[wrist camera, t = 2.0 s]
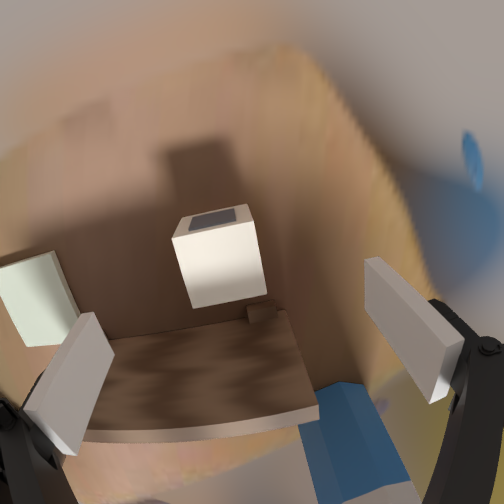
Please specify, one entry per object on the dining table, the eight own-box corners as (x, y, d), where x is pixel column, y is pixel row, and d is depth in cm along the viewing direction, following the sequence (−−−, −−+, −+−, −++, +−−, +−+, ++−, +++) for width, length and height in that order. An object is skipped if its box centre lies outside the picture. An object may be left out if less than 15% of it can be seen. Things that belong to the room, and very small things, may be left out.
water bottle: (298, 387, 30) (362, 607, 7) (376, 374, 31) (471, 555, 7) (291, 434, 33) (333, 607, 10) (359, 422, 34) (422, 575, 11)
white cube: (197, 276, 24) (193, 308, 20) (181, 215, 22) (171, 236, 18) (258, 263, 24) (267, 293, 20) (246, 201, 23) (253, 218, 18)
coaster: (30, 342, 25) (27, 346, 25) (-6, 268, 22) (-10, 271, 21) (91, 336, 25) (88, 340, 25) (54, 250, 22) (50, 253, 21)
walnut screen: (94, 364, 27) (60, 446, 16) (77, 333, 25) (32, 415, 15) (288, 334, 27) (319, 429, 17) (283, 297, 26) (317, 392, 15)
